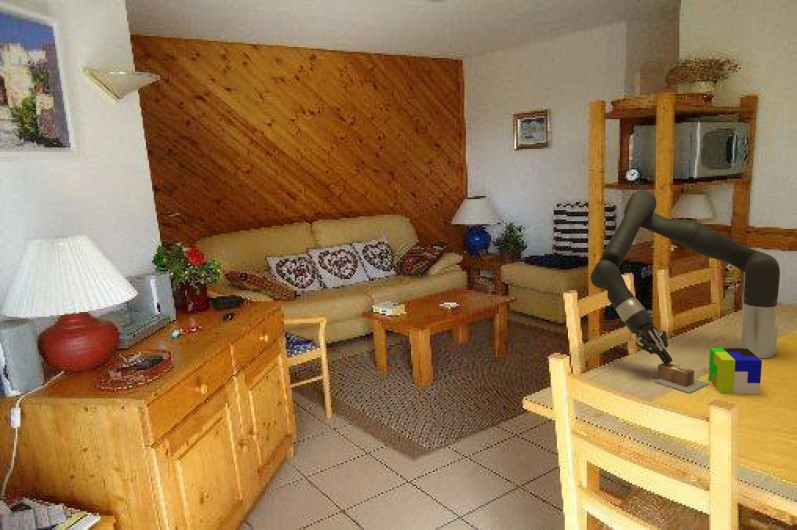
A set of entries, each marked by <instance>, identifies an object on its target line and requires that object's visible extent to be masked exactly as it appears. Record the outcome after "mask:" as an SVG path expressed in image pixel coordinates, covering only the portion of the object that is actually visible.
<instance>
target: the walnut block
mask: <svg viewBox="0 0 797 530" xmlns="http://www.w3.org/2000/svg"><path fill="white" fill-rule="evenodd" d="M659 378H660V379H663V380H667V381H670V382H673V383H676V384H679V385H682V386H685V387H687V386H689V385H691V384H693V383H694V379H695V369H690V368H687V367H684V366H680V365H677V364H674V363H672V362H670V363H669V364H664V363H663V362H662V363H660V364H658V365H657V379H659Z"/></svg>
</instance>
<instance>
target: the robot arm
mask: <svg viewBox="0 0 797 530" xmlns="http://www.w3.org/2000/svg"><path fill="white" fill-rule="evenodd" d="M656 208H657V199H656V197H655V195H654V194H653V193H652V192H650V191H647V190H638V191H636V192H634V193H633V194H632V195H631V196H630V197H629V199H628V201H627V203H626V205H625V208H624V211H623V218H622V220H621V222H620V223H619V225H618V226H617V229H616V230H615V232H614V233H613V234H612V237H611V238H610V240H609V242H608V243H607V245H606V247H605V248H604V250H603V252H602V255H601V257H600V259H599V261H598V262H597V263H596V265H595V266H594V268H593V270H592V271H591V273H590V282H591V284H592V285H593V286H594V287H596V288H598V289H606V290H607V293H606V296H607V297H606V298H607V299H608V301H609V302H610V304H611V305H612V307H614V309H615V310H616V311H615V312H616V313H617V315H618V316H619V318H620V319H621V320H622V321H623V323H624V325H625V326H626V327H627V329H628V330H629V331H630V333H631V334H632V335H635V336H636V338H637V341H636V342H635V345H636V346H637V347H638V348H640V349H641V350H643V351H645V352H647V353H649V354H650V355H653V354H654V355H657V356H658V357H659V359H660V360H661V361H662V363H664V364H669V363H672V362H673V358H672V356H671V355H670V354H669V352H668V351H667V348H668V347H669V343H668V337H667V336H668V335H667V332H666V331H665V330H662V331H660V330H658V328H657V327H656V326H655V325H654V324H653V323H654V319H653V317H651V315H650V314H649V312H648V311H647V310H646V308H645V307H644V306H643V304H641V302H640V301H639V300H638V299H637V298H636V297H635V295H634V294H633V293H632V291H631V290H630V289H629V287H628V286H627V284H626V281H625V279H624V277H623V274H622V273H621V270H620V269H619V268H620V266H621V265H622V264H623V262H624V261H625V259H626V257H627V255H628V253H629V252H630V249H631V248H632V245H633V243H634V242H635V239H636V236H637V235H638V232H639V230H640V228H642V229H645V230H647V231H650V232H653V233H655V234H658V235H660V236H661V237H664V238H666V239H668V240H670V241H673V242H674V243H676V244H679V245H681V246H683V247H684V248H686V249H688V250H691V251H693V252H694V253H696V254H698V255H702V256H703V257H707V258H711V259H714V260H718V261H721V262H724V263H727V264H729V265H731V266H732V267H735V268H736V269H738V270H740V271H742V272H743V273H744V289H743V303H742V318H741V319H742V320H741V321H742V322H741V334H740V335H741V336H740V348H747V349H749V350H750V351H751V352H752V353H753V354H755V355H756V356H757V357H758V358H759V359H770V358H772V357H774V356H776V355H777V345H778V344H777V343H778V331H779V330H778V329H779V327H778V326H776V324H777V322H776V321H777V309H778V308H777V307H778V306H777V305H778V300H779V299H778V298H779V289H780V288H779V287H780V279H781V278H780V277H781V273H780V272H781V270H780V268H781V267H780V265H779V262H778V260H777V259H776V258H775V257H774V256H772V255H771V254H768V253H765V252H762V251H759V250H756V249H753V248H751V247H748V246H745V245H743V244H741V243H738V242H736V241H735V240H733V239H731V238H730V237H728V236H726V235H725V234H723V233H721V232H719V231H717V230H715V229H713V228H712V227H709V226H708V225H705V224H702V223H701V222H698V221H694V220H688V219H673V218H668V217H665V216H663V215H660V214H658V213H657V212H655V210H656Z"/></svg>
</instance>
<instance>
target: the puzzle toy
mask: <svg viewBox="0 0 797 530" xmlns="http://www.w3.org/2000/svg"><path fill="white" fill-rule="evenodd" d="M708 362H709V363H708V364H709V365H708V381H711V382H712V383H711V382H710V383H711V384H712V385H713V387H715V389H716V388H717V389H716V390H717V391H718V392H719V393H720V394H730V395H731V394H733V395H735V394H737V395H740V394H741V395H760V394H761V393H760V391H761V381H762V380H761V379H762V365H763V364H762V363H763V361H762V358H758V357H757V356H756V355H755V354H753V353H752V352H751V351H750V350H749V349H747V348H741V347H737V348H736V347H734V348H733V347H727V348H726V347H710V348H709V361H708Z"/></svg>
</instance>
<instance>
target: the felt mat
mask: <svg viewBox="0 0 797 530" xmlns="http://www.w3.org/2000/svg"><path fill="white" fill-rule="evenodd" d="M655 382H656V383H655ZM653 383H655V384H658V383H660V384H659V385H661V384H663V385H662V386H664V385H666V386H665V387H667V386H669V387H668V388H670V387H672V388H671V389H673V388H675V389H674V390H676V389H678V390H677V391H679V390H681V391H680V392H682V391H684V392H683V393H685V392H686V393H685V394H688V393H690V394H692V393H694V392H696V391H699V390H701V389H703V388H705V387H707V386H709V384H710V383H709V382H705V381H701V380H698V379H696V378H694V383H693V384H691V385H689V386H687V387H685V386H682V385H679V384H676V383H673V382H670V381H667V380H663V379H660V378H657V379H655V380H653ZM704 386H705V387H704ZM702 387H703V388H702ZM700 388H701V389H700ZM698 389H699V390H698ZM691 392H692V393H691Z"/></svg>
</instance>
